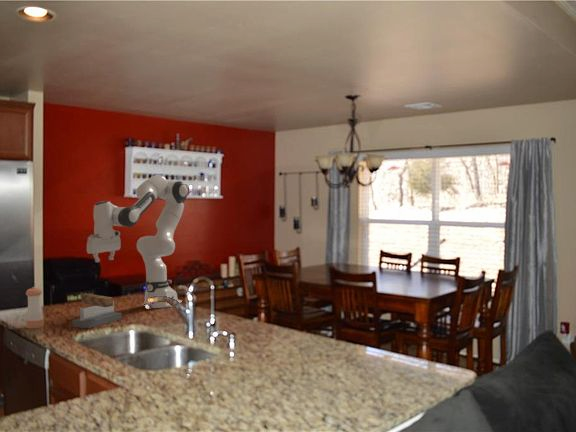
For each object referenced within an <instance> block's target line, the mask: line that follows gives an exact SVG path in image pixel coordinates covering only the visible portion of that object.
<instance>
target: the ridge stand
mask: <svg viewBox="0 0 576 432" xmlns="http://www.w3.org/2000/svg"><path fill="white" fill-rule="evenodd" d="M114 302H115V301H114V300H113V306H110V307H101V306H96V305H87V306H84V307H80V308H79V318H78V319H74V320H72V328H77V327H79V329H86V328H88V329H89V328H90V329H93V328H95V327H99V326H103V325H106V324H109V323H111V322H112V323H113V322H115V321H119V320H122V318H123V317H122V312H116V311H115V303H114ZM92 327H93V328H92ZM88 329H87V330H88Z"/></svg>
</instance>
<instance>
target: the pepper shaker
mask: <svg viewBox="0 0 576 432" xmlns="http://www.w3.org/2000/svg"><path fill="white" fill-rule="evenodd" d="M42 293H43V291H42V289H40V288H39V287H38V288H37V287H35V286H32V287H31V288H28V289H27V290H26V292H25V295H26V296H27V311H26V317H27V318H26V319H27V320H26V328H27V329H39V328H43V327H44V318H43V308H42V304H41V295H42Z"/></svg>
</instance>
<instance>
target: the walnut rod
mask: <svg viewBox="0 0 576 432" xmlns="http://www.w3.org/2000/svg"><path fill="white" fill-rule="evenodd" d="M113 301H114V297H111V296H105V295H98V294H94V293H92V294H91V293H85V294H81V303H82V304H86V305H89V306H91V305H96V306H101V307H110V306H113Z"/></svg>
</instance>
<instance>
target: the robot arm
mask: <svg viewBox="0 0 576 432" xmlns="http://www.w3.org/2000/svg"><path fill="white" fill-rule="evenodd" d="M188 194H189V187H188V184H187V183H186V182H184V181H181V180H178V181H177V180H167V179H166V177H165V176H163V175H161V174H155V175H153V176H151V177H149V178H147V179H146V180H145V181H143V182H142V183H141V184H140V185H139V186H138V187H137V188H136V197H137V199H138V200H137V201H136V202H135V203H134V204H133V205H132V206H126V207H124V206H123V207H122V206H117V205H114V204H113V203H111V201H110V200H101V201H98V202H95V204H94V206H93V221H94V222H93V223H94V225H93V227H94V228H93V234H90V235H89V236H88V237H87V242H86V252H87V254H92V256H93V259H94V262H95V263H100V262H101V259H100V257H99V254H101V253H106V252H109V253H110V255H109V256H108V260H109V261H113V260H114V256H115V254H116V251H119V250H120V249H121V248H122V247H121V244H122V243H121V242H122V241H121V237H120V236H121V231H118V230H115V229H113V227H114V226H115V227H128V228H131V227H135V226H136V225H137V224H138V222H139V220H140V218H141V216H142V215H144V213H145V212H146V211H147V210H148V209H149V208H150V207H151V206H152V205H153V203H154V202H155V200H156V199H159V200H162V201H165V206H164V207H163V209H162V211H161V213H160V215H159V216H158V218H157V221H156V222H155V227H156V229H157V231H156V234H155V235H145V236H141V237H139V239H138V240H137V242H136V249H137V252H138V253H139V254H140V255H141V257H142V260H143V262H144V265H145V275H146V276H145V278H146V279H145V280H146V281H145V288H146V290H145V292H144V302H143V306H144V304H145V302H146V300H147V299H148V298H151V297H154V296H167V297H170V298H173V299H175V300H177V301H178V302H179V304H180V303H182V302H183V299H182V300H181V299H179V298H178V293H177V291H176V290H174V289H173V288H172V287H171V286H170V284H172V282H173V281H172V279H167V278H168V276H167V273H168V271H167V270H168V269H167V265H166V264H165V263H164V261H163V260H162V257H167V256H171V255H172V254H173V253H174V252H175V248H176V243H175V241H174V235H175V231H176V228H177V227H178V224H179V222H180V220H181V217H182V216H183V213H184V209H185V204H184V202H185V201H186V199H187V197H188ZM172 307H173V306H171V305H170V304H169V303H167V302H158V303H154V304H153V307H152V308H151V309H162V308H172Z"/></svg>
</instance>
